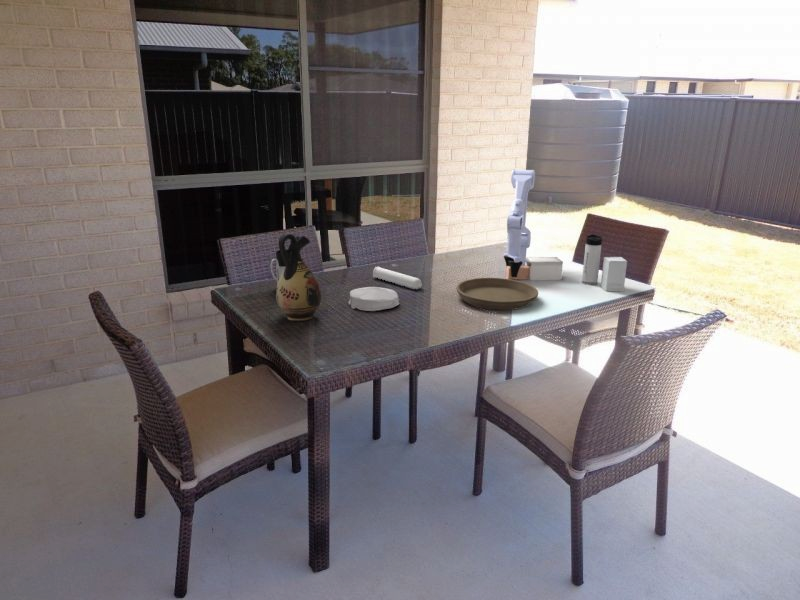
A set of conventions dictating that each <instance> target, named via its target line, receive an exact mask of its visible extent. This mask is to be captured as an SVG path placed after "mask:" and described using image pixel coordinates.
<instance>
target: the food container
mask: <svg viewBox="0 0 800 600" xmlns="http://www.w3.org/2000/svg"><path fill="white" fill-rule="evenodd" d="M349 297H350V298H349V301H348V303H347V304H348V305H350V306H351V307H350V308H352V309H353V310H354V309H358V310H360V311H367V312H368V311H370V312H376V311H382V310H387V309H393V308H395V307H397V306H399V305H400V302H399V301H400V300H399V295H398V293H397V291H395V290H394V289H392V288H386V287H383V286H382V287H378V286H367V287H366V286H364V287H358V288H354V289H352V290H350V291H349Z"/></svg>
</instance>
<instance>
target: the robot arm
mask: <svg viewBox="0 0 800 600" xmlns="http://www.w3.org/2000/svg"><path fill="white" fill-rule="evenodd" d="M510 176H511V177H510V179H511V180H510V181H511V185H512V188H513V189H515V190H514V191H515V192H514V194H515V195H514V200H513V201H511V204H510V211H509V216H507V219H506V232H507V238H506V239H507V240H506V241H507V243H506V253H505V252H504V253H503V258H504V262H505V267H506V268H507V266H510V268H511V277H517V274H518V271H519V268H520V266H526V262H525V261H524V258H527V249H529V248H530V245H531V238H532V237H531V234H532V233H531V230H530V229H529V228H527V226H526V219H527V207H528V197H529V196H528V195H529V192H530V190H533V189H534V187H535V181H536V171H535V170H534V169H515V168H513V170H512V171H511V175H510Z"/></svg>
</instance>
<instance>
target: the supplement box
mask: <svg viewBox="0 0 800 600" xmlns="http://www.w3.org/2000/svg"><path fill="white" fill-rule="evenodd" d="M602 262H603V263H602V271H601V279H600V287H601V288H602V289H603V290H604V291H606V292H624V291H625V282H626V276H627V275H626V273H627V266H628V261H627V260H626V259H625V258H623V257H622V256H603V261H602Z"/></svg>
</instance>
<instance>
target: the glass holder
mask: <svg viewBox="0 0 800 600" xmlns="http://www.w3.org/2000/svg"><path fill="white" fill-rule="evenodd" d="M287 250H288V249H286V251H287ZM287 254H288V257H289V259H290V256H291V253H289V252H287ZM274 261H275V263H276V264H275V267H276V268H275V269H276V271H275V272H276V276H275V273H274V269H273V263H274ZM284 269H285V262H284V261H283V257H282V255H281V252H280V250H276V251H275V258H272V260H271V261H270V271H271V275H272V278H273V279H274V280H276V283H277V284H278V281H279V279H280V276H281V274H282V273H283V271H284Z"/></svg>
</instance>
